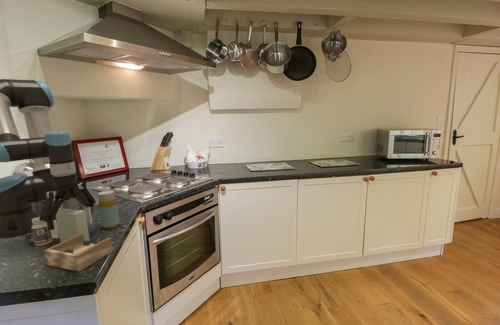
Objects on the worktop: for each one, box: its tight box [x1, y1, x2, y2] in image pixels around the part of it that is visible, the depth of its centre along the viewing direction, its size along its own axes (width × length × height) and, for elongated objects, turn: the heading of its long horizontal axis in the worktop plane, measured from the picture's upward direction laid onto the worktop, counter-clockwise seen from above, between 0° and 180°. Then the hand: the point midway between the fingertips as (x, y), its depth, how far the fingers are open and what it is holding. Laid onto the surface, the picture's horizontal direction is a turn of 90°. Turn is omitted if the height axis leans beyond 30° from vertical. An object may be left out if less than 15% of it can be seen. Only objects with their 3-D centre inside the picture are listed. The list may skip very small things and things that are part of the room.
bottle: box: [97, 189, 121, 230], centre depth 116 cm, size 7×7×15 cm
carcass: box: [43, 233, 114, 272], centre depth 91 cm, size 14×13×5 cm
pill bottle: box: [31, 216, 54, 247], centre depth 103 cm, size 6×6×10 cm
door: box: [55, 208, 91, 243], centre depth 102 cm, size 10×5×12 cm, turn 71°
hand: (73, 229), depth 103 cm, fingers open, 13 cm apart
